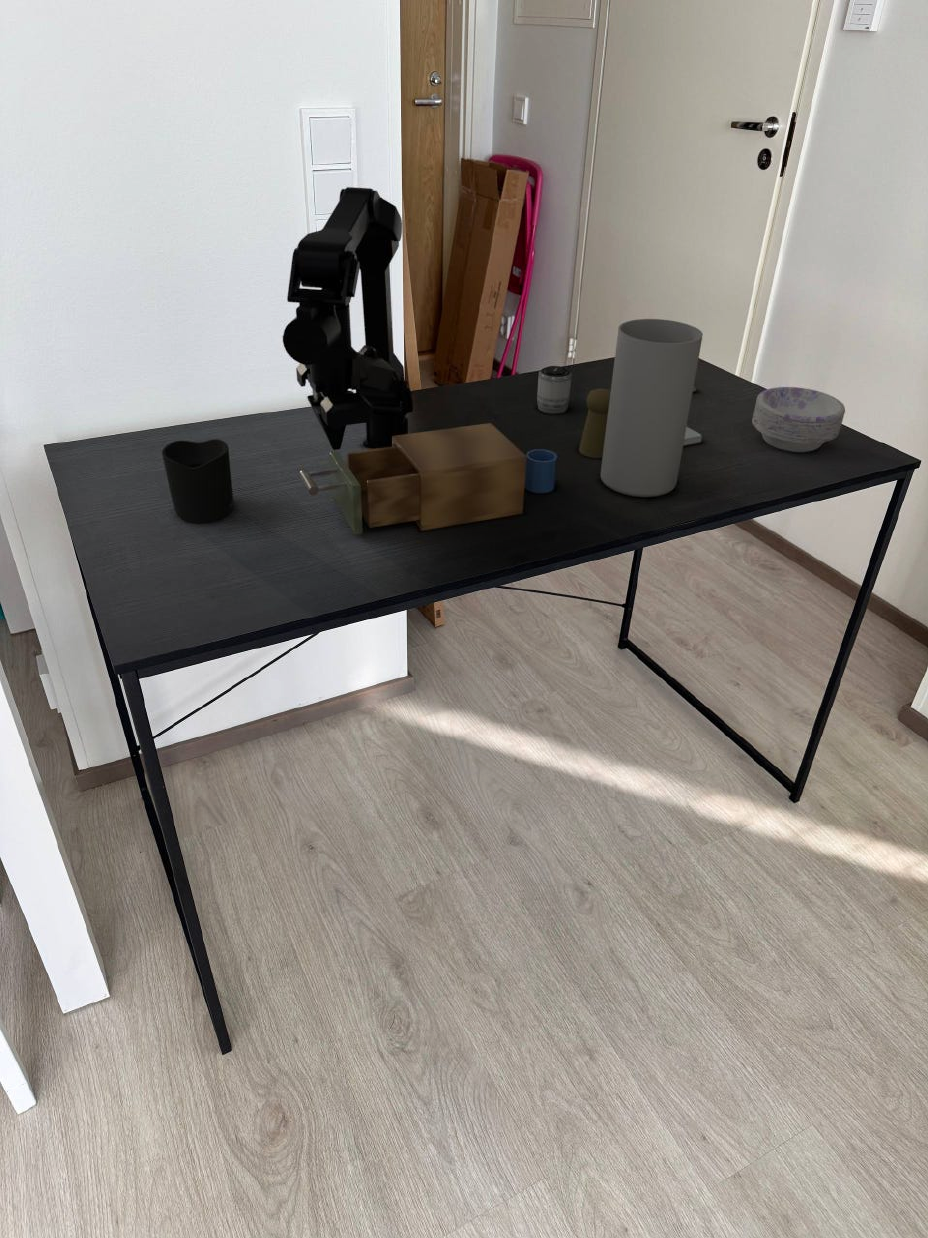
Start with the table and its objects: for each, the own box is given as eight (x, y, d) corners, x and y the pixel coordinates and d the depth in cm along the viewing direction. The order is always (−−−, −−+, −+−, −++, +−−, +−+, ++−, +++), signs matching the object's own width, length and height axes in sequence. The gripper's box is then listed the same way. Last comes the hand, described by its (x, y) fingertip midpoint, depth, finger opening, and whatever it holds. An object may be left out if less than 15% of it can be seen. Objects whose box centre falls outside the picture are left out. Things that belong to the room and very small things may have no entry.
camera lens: (570, 404, 178) (574, 365, 173) (566, 416, 172) (569, 376, 168) (538, 401, 179) (541, 362, 174) (533, 412, 174) (536, 372, 169)
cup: (520, 490, 146) (523, 459, 142) (528, 478, 149) (530, 447, 146) (550, 495, 144) (553, 463, 141) (557, 482, 148) (560, 451, 145)
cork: (611, 459, 156) (619, 398, 150) (577, 456, 157) (583, 395, 151) (614, 446, 161) (621, 386, 155) (580, 442, 162) (586, 383, 156)
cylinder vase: (592, 491, 146) (610, 336, 132) (609, 461, 156) (627, 314, 142) (669, 504, 143) (696, 348, 129) (681, 473, 152) (707, 324, 138)
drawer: (317, 541, 128) (313, 491, 124) (297, 503, 138) (293, 456, 133) (454, 518, 135) (455, 470, 131) (425, 483, 145) (426, 438, 140)
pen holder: (204, 531, 132) (194, 468, 126) (159, 514, 136) (148, 452, 130) (249, 506, 138) (241, 446, 133) (205, 491, 142) (196, 431, 137)
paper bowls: (786, 465, 156) (797, 421, 152) (731, 432, 168) (739, 391, 163) (852, 452, 162) (865, 410, 157) (795, 421, 173) (805, 381, 169)
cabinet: (421, 531, 134) (421, 471, 128) (393, 492, 144) (391, 435, 138) (522, 513, 139) (526, 456, 133) (488, 477, 149) (490, 422, 144)
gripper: (409, 356, 115) (410, 467, 124) (367, 315, 130) (371, 418, 138) (324, 364, 112) (331, 478, 121) (291, 322, 126) (300, 426, 135)
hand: (336, 448), depth 129 cm, fingers closed
